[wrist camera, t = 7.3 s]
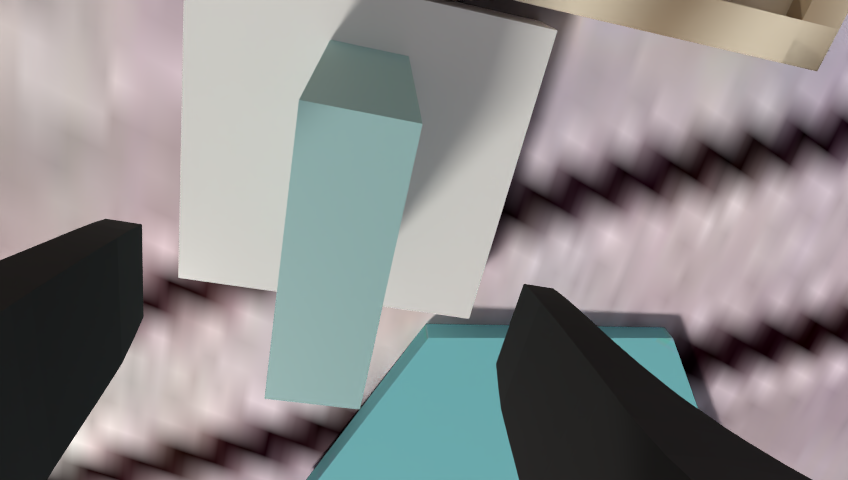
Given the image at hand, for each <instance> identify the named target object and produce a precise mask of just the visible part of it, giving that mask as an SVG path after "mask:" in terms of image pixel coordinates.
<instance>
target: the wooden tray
mask: <svg viewBox="0 0 848 480" xmlns="http://www.w3.org/2000/svg"><path fill="white" fill-rule="evenodd" d="M515 1H519V2H523V3H528V4H532V5H536V6H541V7H545V8H549V9H553V10H558V11H562V12H566V13H570V14H575V15H579V16H583V17H587V18H592V19H596V20H600V21H605V22H609V23H613V24H617V25H622V26H626V27H630V28H634V29H639V30H643V31H647V32H652V33H656V34H660V35H664V36H669V37H673V38H677V39H681V40H686V41H690V42H694V43H698V44H703V45H707V46H711V47H716V48H720V49H724V50H728V51H733V52H737V53H741V54H745V55H750V56H754V57H758V58H763V59H767V60H771V61H775V62H780V63H784V64H788V65H792V66H797V67H801V68H805V69H809V70H814V71H818V69H819V67H820V65H821V63H822V61H823V59H824V57H825V55H826V53H827V51H828V49H829V48H830V46H831V44H832V42H833V40H834V38H835V36H836V34H837V32H838V30H839V28H840V27H841V25H842V23H843V21H844V19H845V17H846V15H847V13H848V0H515Z"/></svg>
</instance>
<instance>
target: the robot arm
mask: <svg viewBox="0 0 848 480" xmlns="http://www.w3.org/2000/svg"><path fill="white" fill-rule="evenodd" d="M142 319H143V266H142V224H136V223H129V222H123V221H116V220H110V219H104V220H101V221H97V222H94V223H92V224H89V225H86V226H84V227H81V228H78V229H76V230H73V231H71V232H68V233H66V234H64V235H61V236H59V237H56V238H54V239H51V240H49V241H47V242H44V243H42V244H39V245H37V246H34V247H32V248H29V249H27V250H25V251H22V252H20V253H17V254H15V255H12V256H10V257H7V258H5V259H2V260H0V480H47V479H48V477H49V475H50V474H51V472H52V470H53V469H54V467H55V466H56V464H57V463H58V461H59V460H60V458H61V457H62V455H63V454H64V452H65V451H66V449H67V447H68V446H69V444H70V443H71V441H72V440H73V438H74V437H75V435H76V434H77V432H78V431H79V429H80V428H81V426H82V425H83V423H84V421H85V420H86V418H87V417H88V415H89V414H90V412H91V411H92V409H93V408H94V406H95V405H96V403H97V402H98V400H99V399H100V397H101V395H102V394H103V392H104V391H105V389H106V388H107V386H108V385H109V383H110V381H111V380H112V378H113V377H114V375H115V374H116V372H117V370H118V369H119V367H120V366H121V364H122V362H123V360H124V358H125V356H126V354H127V352H128V350H129V348H130V346H131V343H132V341H133V339H134V337H135V335H136V332H137V330H138V328H139V326H140V323H141V321H142ZM496 369H497V380H498V390H499V397H500V405H501V411H502V415H503V419H504V423H505V427H506V431H507V435H508V439H509V443H510V447H511V451H512V455H513V458H514V462H515V466H516V470H517V474H518V478H519V480H812V479H810V478H808V477H806V476H805V475H803V474H801V473H799V472H797V471H795V470H794V469H792V468H790V467H788V466H787V465H785V464H783V463H781V462H780V461H778V460H777V459H775V458H773V457H772V456H770V455H768V454H767V453H765V452H763V451H762V450H760V449H758V448H757V447H755V446H753V445H752V444H750V443H748V442H747V441H745V440H743V439H742V438H740V437H739V436H737V435H736V434H734V433H733V432H731V431H729V430H728V429H726V428H725V427H723V426H722V425H720V424H719V423H718V422H716V421H715V420H713V419H712V418H710V417H709V416H708V415H706V414H705V413H703V412H702V411H700V410H699V409H698V408H696V407H695V406H693V405H692V404H690V403H689V402H688V401H686V400H685V399H684V398H682V397H681V396H680V395H678V394H677V393H676V392H674V391H673V390H672V389H670V388H669V387H668V386H667V385H665V384H664V383H663V382H662V381H660V380H659V379H658V378H657V377H655V376H654V375H653V374H652V373H650V372H649V371H648V370H647V369H645V368H644V367H643V366H642V365H641V364H639V363H638V362H637V361H636V360H635V359H634V358H632V357H631V356H630V355H629V354H628V353H627V352H625V351H624V350H623V349H622V348H621V347H620V346H619V345H617V344H616V343H615V342H614V341H613V340H612V339H611V338H610V337H608V336H607V335H606V334H605V333H604V332H603V331H602V330H601V329H600V328H599V327H597V326H596V325H595V324H594V323H593V322H592V321H591V320H590V319H589V318H588V317H586V316H585V315H584V314H583V313H582V312H581V311H580V310H579V309H578V308H576V307H575V306H574V305H573V304H572V303H571V302H570V301H568V300H567V299H566V298H565V297H564V296H562V295H561V294H560V293H558V292H557V291H556V290H554V289H553V288H546V287H540V286H534V285H527V284H524V285H523V288H522V291H521V294H520V297H519V299H518V302H517V305H516V308H515V311H514V314H513V316H512V319H511V322H510V325H509V328H508V331H507V334H506V336H505V339H504V342H503V345H502V348H501V351H500V354H499V356H498V359H497V362H496Z"/></svg>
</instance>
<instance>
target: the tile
mask: <svg viewBox="0 0 848 480" xmlns="http://www.w3.org/2000/svg"><path fill="white" fill-rule="evenodd" d="M556 34H557V30H556V29H554V28H552V27H550V26H548V25H546V24H545V23H543V22H541V21H538V20H533V19H529V18H525V17H520V16H516V15H512V14H507V13H503V12H499V11H494V10H490V9H486V8H481V7H477V6H473V5H468V4H464V3H459V2H455V1H451V0H184V11H183V64H182V117H181V170H180V223H179V276H178V278H185V279H192V280H199V281H206V282H213V283H220V284H227V285H234V286H241V287H248V288H255V289H262V290H269V291H276V292H277V286H278V278H279V269H280V260H281V252H282V243H283V234H284V225H285V217H286V208H287V199H288V191H289V182H290V173H291V165H292V156H293V147H294V138H295V130H296V121H297V112H298V104H299V99H300V97H301V95H302V93H303V91H304V89H305V87H306V85H307V83H308V81H309V79H310V78H311V76H312V74H313V72H314V70H315V68H316V66H317V64H318V62H319V60H320V58H321V56H322V54H323V53H324V51H325V49H326V47H327V45H328V43H329V41H330V40H335V41H340V42H344V43H349V44H354V45H358V46H363V47H368V48H372V49H377V50H382V51H387V52H391V53H396V54H401V55H405V56H409V60H410V65H411V70H412V75H413V79H414V84H415V89H416V94H417V99H418V104H419V109H420V114H421V119H422V123H423V124H422V129H421V133H420V138H419V142H418V147H417V152H416V156H415V161H414V165H413V170H412V174H411V179H410V183H409V188H408V193H407V197H406V202H405V206H404V211H403V215H402V220H401V224H400V229H399V234H398V238H397V243H396V247H395V252H394V256H393V261H392V265H391V270H390V274H389V279H388V284H387V288H386V293H385V297H384V302H383V306H382V307H389V308H396V309H403V310H410V311H417V312H424V313H432V314H439V315H446V316H453V317H460V318H467V319H469V317H470V314H471V311H472V307H473V304H474V301H475V298H476V294H477V291H478V288H479V285H480V281H481V278H482V275H483V271H484V268H485V265H486V262H487V258H488V255H489V252H490V249H491V245H492V242H493V239H494V236H495V232H496V229H497V226H498V223H499V219H500V216H501V213H502V210H503V206H504V203H505V200H506V197H507V193H508V190H509V187H510V184H511V180H512V177H513V174H514V171H515V167H516V164H517V161H518V158H519V154H520V151H521V148H522V144H523V141H524V138H525V135H526V131H527V128H528V125H529V122H530V118H531V115H532V112H533V109H534V105H535V102H536V99H537V96H538V92H539V89H540V86H541V83H542V79H543V76H544V73H545V70H546V66H547V63H548V60H549V57H550V53H551V50H552V47H553V44H554V40H555V37H556Z"/></svg>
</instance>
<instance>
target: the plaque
mask: <svg viewBox="0 0 848 480" xmlns="http://www.w3.org/2000/svg"><path fill="white" fill-rule="evenodd" d="M597 327H599V328H600V329H601V330H602V331H603V332H604V333H605V334H606V335H607V336H608V337H610V338H611V339H612V340H613V341H614V342H615V343H616V344H617V345H619V346H620V347H621V348H622V349H623V350H624V351H625V352H627V353H628V354H629V355H630V356H631V357H632V358H634V359H635V360H636V361H637V362H638V363H639V364H641V365H642V366H643V367H644V368H645V369H647V370H648V371H649V372H650V373H652V374H653V375H654V376H655V377H657V378H658V379H659V380H660V381H662V382H663V383H664V384H665V385H667V386H668V387H669V388H670V389H672V390H673V391H674V392H676V393H677V394H678V395H680V396H681V397H682V398H684V399H685V400H686V401H688V402H689V403H690V404H692V405H693V406H695V407H696V408H698V407H697V404H696V402H695V399H694V396H693V393H692V390H691V388H690V385H689V382H688V379H687V376H686V374H685V371H684V368H683V365H682V362H681V360H680V357H679V354H678V351H677V348H676V346H675V343H674V340H673V338H672V336H671V335H670V334H669V333H668V331H667V330H666V329H665V328H664V327H601V326H597ZM508 328H509V325H474V324H426V325H425V326H424V327H423V328H422V330H421V331H420V332H419V333H418V335H417V336H416V337H415V338H414V340H413V341H412V342H411V344H410V345H409V346H408V347H407V349H406V350H405V351H404V353H403V354H402V355H401V357H400V358H399V359H398V361H397V362H396V363H395V364H394V366H393V367H392V368H391V370H390V371H389V372H388V374H387V375H386V376H385V378H384V379H383V380H382V381H381V383H380V384H379V385H378V387H377V388H376V389H375V391H374V392H373V393H372V394H371V396H370V397H369V398H368V400H367V401H366V402H365V404H364V405H363V406H362V408H361V409H360V410H359V411H358V413H357V414H356V415H355V417H354V418H353V419H352V421H351V422H350V423H349V425H348V426H347V427H346V428H345V430H344V431H343V432H342V434H341V435H340V436H339V438H338V439H337V440H336V441H335V443H334V444H333V445H332V447H331V448H330V449H329V451H328V452H327V453H326V455H325V456H324V457H323V458H322V460H321V461H320V462H319V464H318V465H317V466H316V468H315V469H314V470H313V472H312V473H311V474H310V475H309V477H308V478H307V479H306V480H519V478H518V474H517V470H516V466H515V462H514V458H513V455H512V451H511V447H510V443H509V439H508V435H507V431H506V427H505V423H504V419H503V415H502V411H501V405H500V397H499V390H498V380H497V369H496V362H497V359H498V356H499V354H500V351H501V348H502V345H503V342H504V339H505V336H506V334H507V331H508Z"/></svg>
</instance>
